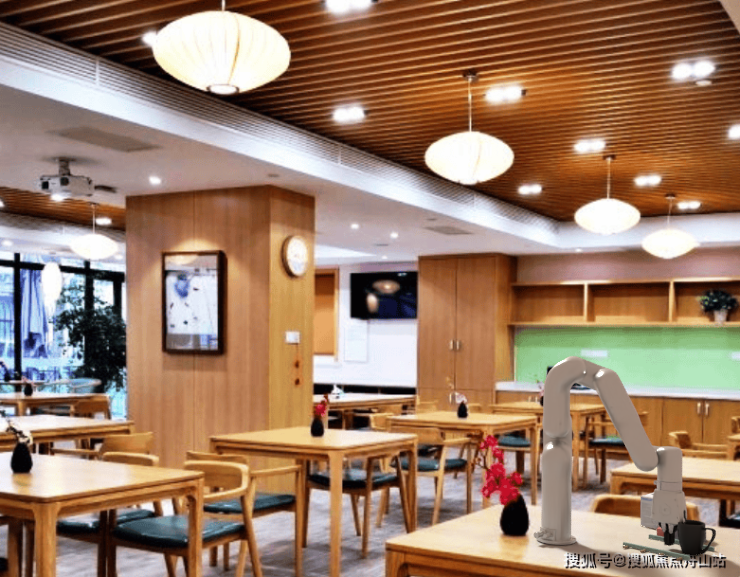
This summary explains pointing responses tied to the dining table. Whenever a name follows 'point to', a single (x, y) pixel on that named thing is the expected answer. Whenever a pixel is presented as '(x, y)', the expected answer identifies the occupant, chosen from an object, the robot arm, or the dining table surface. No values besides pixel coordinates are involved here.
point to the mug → (693, 537)
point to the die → (660, 532)
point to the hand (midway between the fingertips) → (669, 544)
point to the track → (662, 552)
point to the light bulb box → (647, 511)
